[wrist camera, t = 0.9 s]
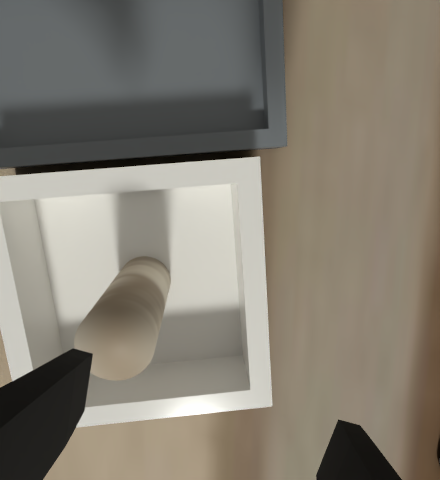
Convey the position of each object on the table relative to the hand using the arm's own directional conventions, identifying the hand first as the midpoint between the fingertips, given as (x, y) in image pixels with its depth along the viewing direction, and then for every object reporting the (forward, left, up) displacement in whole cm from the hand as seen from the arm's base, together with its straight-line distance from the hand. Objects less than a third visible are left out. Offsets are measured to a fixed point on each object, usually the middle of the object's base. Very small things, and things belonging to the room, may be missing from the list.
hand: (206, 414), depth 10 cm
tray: (-4, +13, -13) cm, 19 cm away
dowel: (-4, 0, -12) cm, 13 cm away
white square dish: (-4, 0, -13) cm, 14 cm away
